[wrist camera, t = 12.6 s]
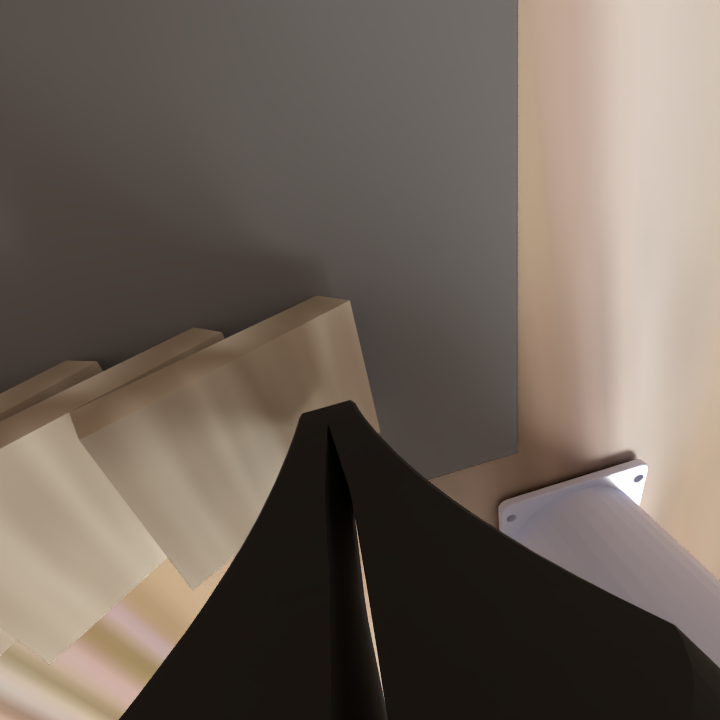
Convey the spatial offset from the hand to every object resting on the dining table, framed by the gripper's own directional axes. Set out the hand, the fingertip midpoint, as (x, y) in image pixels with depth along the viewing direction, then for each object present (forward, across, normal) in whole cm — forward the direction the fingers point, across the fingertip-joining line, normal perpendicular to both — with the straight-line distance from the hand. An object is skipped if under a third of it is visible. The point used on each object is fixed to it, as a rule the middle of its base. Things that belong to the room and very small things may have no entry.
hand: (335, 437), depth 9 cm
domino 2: (+3, -1, 0) cm, 4 cm away
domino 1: (+3, +3, 0) cm, 5 cm away
